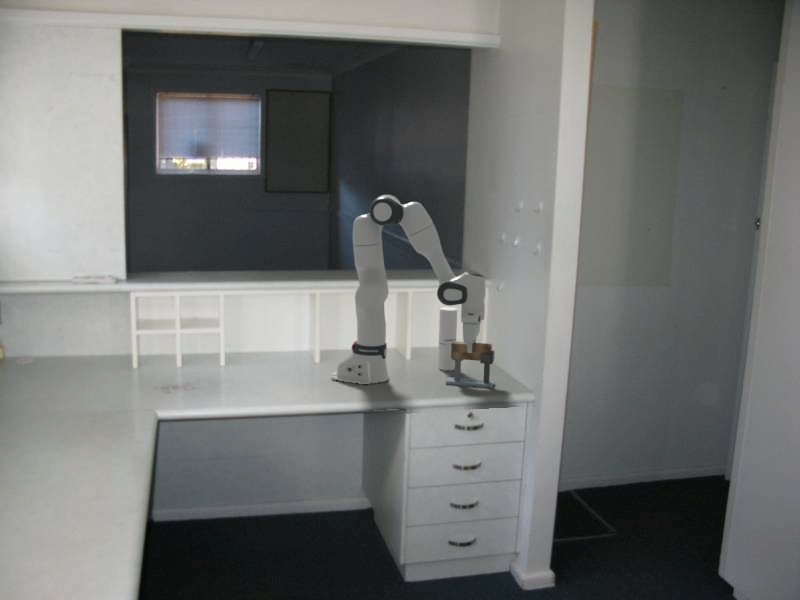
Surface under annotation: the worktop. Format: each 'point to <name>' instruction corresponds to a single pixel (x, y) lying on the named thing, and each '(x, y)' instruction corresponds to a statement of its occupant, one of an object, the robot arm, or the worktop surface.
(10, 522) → the worktop surface
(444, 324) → the cylindrical container
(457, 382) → the stand
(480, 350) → the rail
